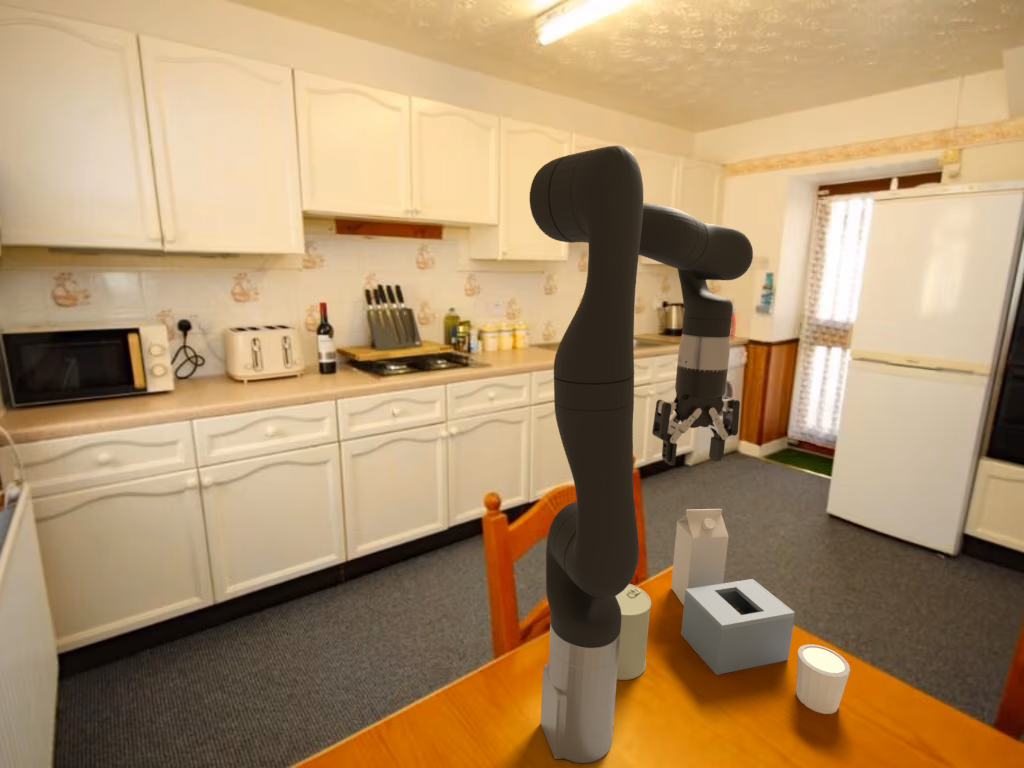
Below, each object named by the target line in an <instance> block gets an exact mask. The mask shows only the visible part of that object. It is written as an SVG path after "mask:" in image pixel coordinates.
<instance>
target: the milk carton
mask: <svg viewBox="0 0 1024 768" xmlns="http://www.w3.org/2000/svg"><path fill="white" fill-rule="evenodd" d="M722 513H723V508H705V509H704V508H702V509H701V508H699V509H686V511H685V515H684V516H682V517H681V518H679V519H678V520H677V521H676V530H675V531H676V532H675V541H674V552H673V562H672V571H671V574H672V575H671V584H670V589H671V590H672V591H673V593H674V595H676V597H677V598H678V600H679V601H680V603H681V604H682V605H683V607H684V600H685V591H686V589H690V588H697V587H703V586H710V585H716V584H723V583H724V578H725V572H726V571H725V570H726V562H727V553H728V547H729V546H728V545H729V537H730V536H729V533H728V531H727V527H726V524H725V521H724V517H723V515H722Z"/></svg>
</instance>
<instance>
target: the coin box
mask: <svg viewBox="0 0 1024 768" xmlns="http://www.w3.org/2000/svg"><path fill="white" fill-rule="evenodd" d="M730 604H734V605H735V606H736V607H738V608H739V609H740V610H741V611H742V612H743V613H744V614H745V615H741V614H740V613H739V612H737V611H736V610H735V609H734V608H733V607H732V606H731V605H730ZM682 611H683V612H682V620H681V629H680V630H681V631H680V635H681V636H682V637H683V638H684V640H685V641H686V642H687V643H688V644H689V645H690V646H691V647H692V649H693V650H694V651H695V652H696V654H697V655H698V656H699V657H700V658H701V660H702V661H703V662H705V664H706V665H707V666H708V667H709V669H711V671H712V672H713V673H714V674H715V675H721V674H727V673H732V672H736V671H742V670H747V669H751V668H755V667H757V668H758V667H760V666H761V667H762V666H766V665H771V664H775V663H780V662H784V661H785V662H786V661H788V660H789V655H790V654H789V653H790V648H791V642H792V635H793V629H794V623H795V615H796V612H795V611H794V610H793V609H792V608H790V607H789V606H787V605H786V604H785V603H784V602H783V601H781V600H780V599H779V598H778V597H776V596H775V595H773V594H772V593H771V592H770V591H768V590H767V589H766V588H765V587H763V586H762V584H760V583H759V582H757V581H756V580H755V579H753V578H749V579H744V580H737V581H731V582H725V583H724V582H723V584H716V585H710V586H703V587H697V588H690V589H686V591H685V600H684V606H683V610H682Z"/></svg>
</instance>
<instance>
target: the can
mask: <svg viewBox="0 0 1024 768" xmlns="http://www.w3.org/2000/svg"><path fill="white" fill-rule="evenodd" d="M616 599H617V601H618V603H619V606H620V609H621V633H620V645H619V657H618V670H617V680H621V681H629V680H633V679H634V680H635V678H636V679H637V678H638V677H640V676H641V675H642V674H643V673H644V671H645V670H646V667H647V661H646V660H647V659H646V656H647V643H648V634H649V632H648V631H649V622H650V612H651V608H652V607H651V606H652V601H651V598H650V596H649V594H648V593H647V592H646V591H644V590H643V589H642V588H641V587H638V586H637V585H634V584H631V583H629V585H628V586H627V587H626V588H625V589H624V590H623V591H622V592H621V593H619V594H618V595H616Z"/></svg>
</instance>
